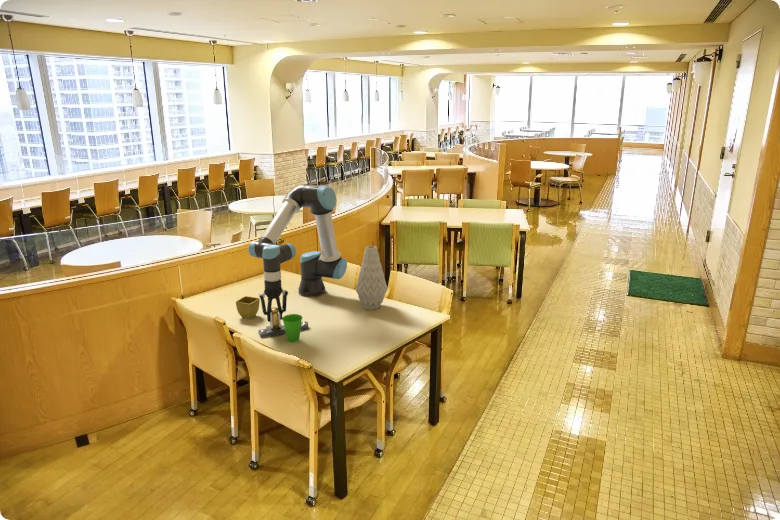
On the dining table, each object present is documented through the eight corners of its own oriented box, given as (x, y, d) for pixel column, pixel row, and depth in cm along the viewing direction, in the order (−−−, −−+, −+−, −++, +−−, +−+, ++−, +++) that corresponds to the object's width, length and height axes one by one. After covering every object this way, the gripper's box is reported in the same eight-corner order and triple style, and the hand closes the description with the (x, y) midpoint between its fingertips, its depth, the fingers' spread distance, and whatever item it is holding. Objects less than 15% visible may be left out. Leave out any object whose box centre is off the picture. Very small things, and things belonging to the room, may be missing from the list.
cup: (284, 336, 245) (283, 314, 242) (304, 335, 246) (303, 313, 243) (282, 344, 237) (280, 322, 233) (302, 344, 237) (301, 321, 234)
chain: (305, 323, 259) (305, 319, 258) (310, 329, 253) (310, 324, 252) (257, 332, 249) (257, 328, 248) (261, 338, 243) (261, 333, 242)
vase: (351, 310, 275) (350, 249, 266) (361, 299, 291) (360, 241, 281) (382, 314, 271) (382, 252, 262) (390, 302, 286) (391, 244, 277)
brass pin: (278, 330, 252) (277, 306, 248) (281, 333, 248) (280, 309, 245) (270, 332, 250) (268, 308, 246) (272, 335, 246) (271, 311, 243)
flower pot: (261, 314, 270) (260, 297, 267) (251, 320, 262) (250, 303, 259) (246, 312, 273) (245, 295, 270) (236, 318, 265) (235, 301, 262)
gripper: (287, 274, 248) (289, 321, 255) (253, 279, 241) (256, 326, 248) (292, 279, 242) (294, 326, 248) (256, 284, 235) (260, 332, 241)
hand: (275, 326), depth 248 cm, fingers closed on brass pin, 3 cm apart
